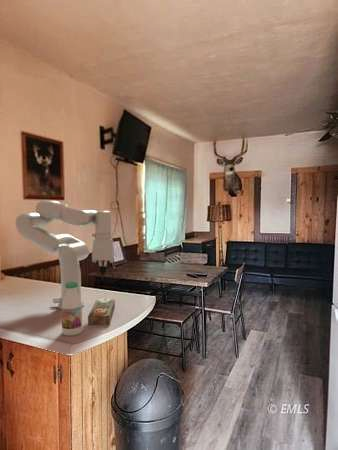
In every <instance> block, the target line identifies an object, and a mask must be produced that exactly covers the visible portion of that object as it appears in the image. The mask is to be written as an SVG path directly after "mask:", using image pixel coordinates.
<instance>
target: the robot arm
mask: <svg viewBox="0 0 338 450" xmlns="http://www.w3.org/2000/svg"><path fill="white" fill-rule="evenodd" d="M55 220H58V221H61V222H63V223H66V224H68V225H73V226H78V227H87V226H94V227H95V229H94V231H95V232H94V233H92V234H91V236H92V237H93V238H94V239H93V240H92V247H91V248H92V249H91V262H92V263H96V264H97V265H98V266H99V274H100V275H101V276H102V275H106V274H107V267H108V265H109V264H111V263H114V262H115V248H114V245H115V244H114V240H113V238H112V213H111V211H109V210H95V209H83V210H82V209H77V208H71V207H70V205H69V204H67V203H61V202H59V201H57V200H45V199H44V200H40V201H39V202H37V204H36V206H35V212H34V211H33V212H24V213H20V214H19V215H18V216H17V217H16V218H15V228H16V230H17V232H18V233H19V235H20V236H21V237H23V238H24V239H25V240H27V241H28V242H31V243H33V244H35V245H37V246H39V248H42V249H43V250H46V251H47V252H49V253H51V254H57V255H58V260H59V266H60V291H61V292H60V293H61V296H60V297H59V298H57V297H56V298H55V297H53V298H52V303H54V304H58V307H57V308H58V309H60V310H62V302H63V299H64V296H65V294H66V289H65V288H66V287H65V284H66V283H68V282H77V284H78V286H77V292H78V295H79V297H80V299H81V303H82V308H83V307H84V306H85V302H84V301H83V300H82V279H81V278H82V275H81V274H82V273H81V272H82V271H81V267H80V265H79V264H80V263H79V261H83V260H85V259H86V258H88V256H89V255H90V248H89V246H88V245H87V244H86V243H85V242H83V241H82V240H80V239H78V238H76V237H74V236H72V235H70V234H68V233H57V234H55V233H52V232H49V231H48V230H46V229H44V228H45V227H46V226H48V225H49V224H51V223H52V222H54V221H55ZM103 261H104V263H103Z"/></svg>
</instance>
